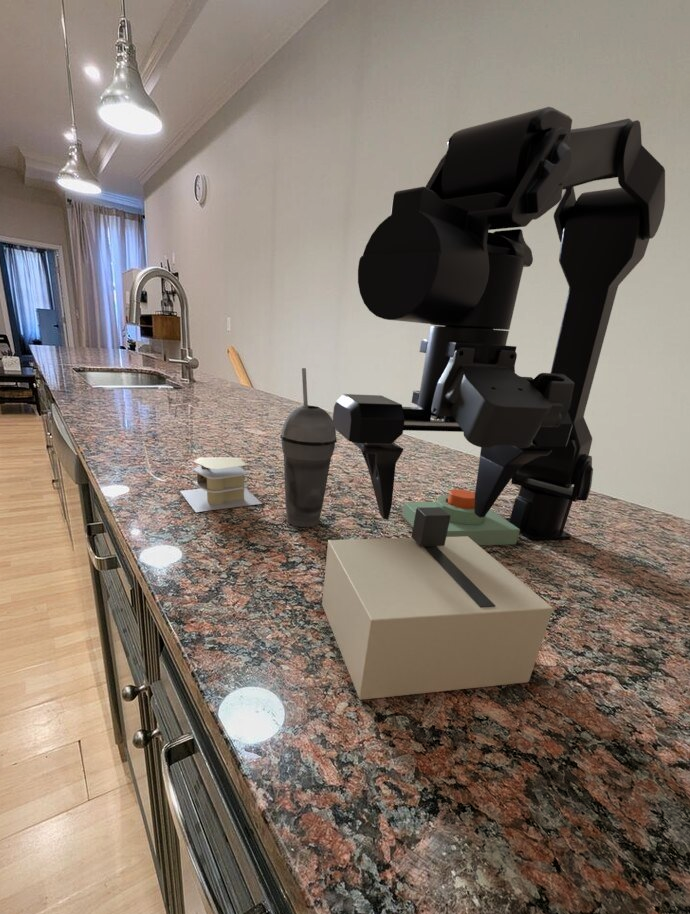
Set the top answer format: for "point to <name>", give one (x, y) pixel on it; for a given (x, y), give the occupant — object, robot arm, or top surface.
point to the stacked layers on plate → (219, 485)
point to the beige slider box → (429, 616)
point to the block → (469, 523)
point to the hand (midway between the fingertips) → (432, 516)
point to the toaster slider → (430, 526)
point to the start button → (461, 499)
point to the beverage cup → (306, 460)
